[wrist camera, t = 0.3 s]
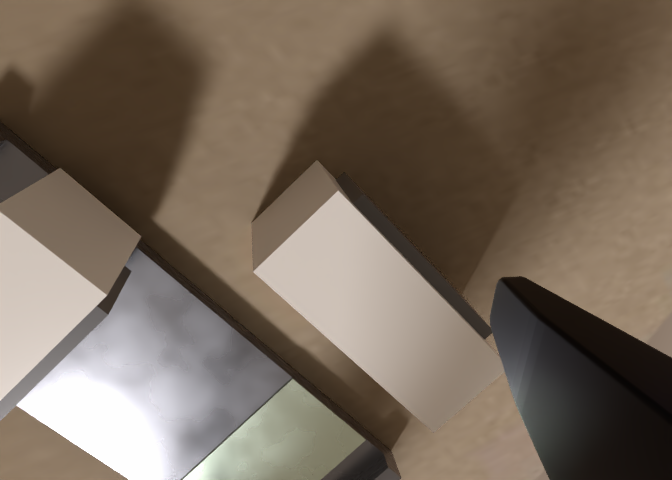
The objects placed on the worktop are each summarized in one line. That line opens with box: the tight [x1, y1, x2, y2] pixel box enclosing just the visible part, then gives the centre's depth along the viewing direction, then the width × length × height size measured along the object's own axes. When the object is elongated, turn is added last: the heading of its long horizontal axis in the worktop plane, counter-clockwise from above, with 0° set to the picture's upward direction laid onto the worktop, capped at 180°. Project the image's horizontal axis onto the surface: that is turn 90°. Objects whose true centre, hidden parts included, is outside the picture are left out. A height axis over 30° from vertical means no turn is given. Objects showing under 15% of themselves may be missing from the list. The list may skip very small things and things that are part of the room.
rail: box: [0, 122, 401, 480], centre depth 25 cm, size 9×24×2 cm, turn 43°
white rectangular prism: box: [251, 160, 505, 433], centre depth 23 cm, size 4×10×6 cm, turn 43°
